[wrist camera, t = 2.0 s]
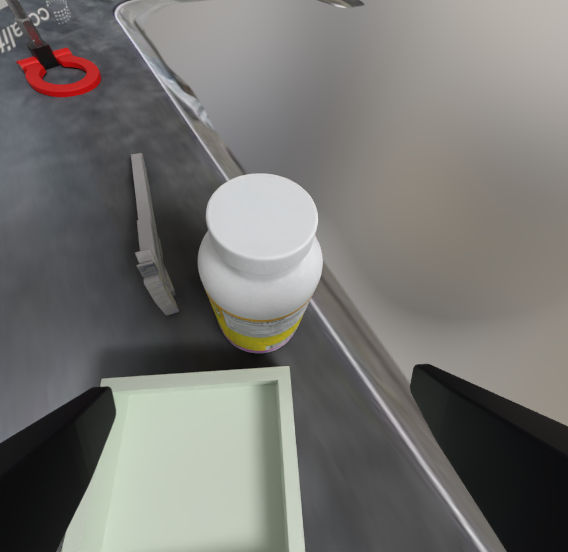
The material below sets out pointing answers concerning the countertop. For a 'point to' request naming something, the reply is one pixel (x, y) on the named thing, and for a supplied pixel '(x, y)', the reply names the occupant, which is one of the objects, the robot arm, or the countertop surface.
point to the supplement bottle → (260, 259)
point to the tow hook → (51, 61)
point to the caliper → (150, 243)
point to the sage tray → (195, 467)
